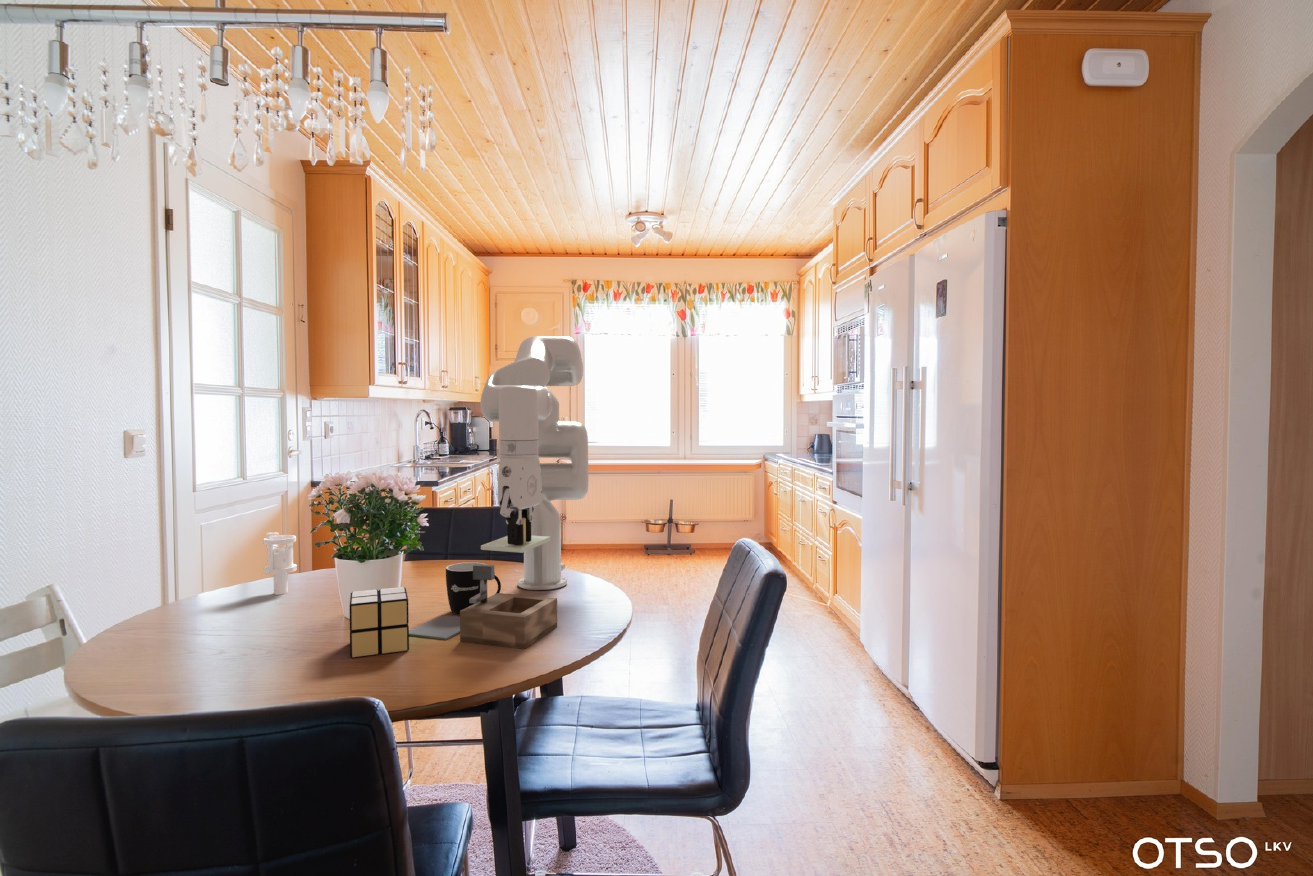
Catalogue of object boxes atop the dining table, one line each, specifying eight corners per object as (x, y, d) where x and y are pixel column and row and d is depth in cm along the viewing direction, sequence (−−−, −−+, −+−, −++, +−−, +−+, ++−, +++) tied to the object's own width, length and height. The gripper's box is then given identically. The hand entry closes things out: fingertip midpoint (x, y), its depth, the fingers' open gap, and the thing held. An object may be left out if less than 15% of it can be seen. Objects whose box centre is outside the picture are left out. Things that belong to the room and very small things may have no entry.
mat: (442, 616, 147) (442, 614, 147) (482, 620, 144) (482, 619, 144) (403, 635, 135) (403, 633, 135) (446, 640, 132) (446, 638, 132)
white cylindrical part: (279, 588, 171) (278, 530, 170) (303, 590, 169) (302, 531, 169) (257, 596, 164) (256, 534, 164) (282, 597, 163) (281, 535, 162)
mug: (442, 617, 146) (442, 571, 146) (449, 606, 155) (449, 562, 155) (499, 615, 148) (498, 569, 148) (502, 604, 157) (502, 561, 157)
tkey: (494, 601, 137) (494, 565, 137) (482, 608, 132) (482, 571, 132) (476, 600, 138) (476, 564, 138) (463, 607, 133) (463, 570, 132)
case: (497, 620, 144) (497, 593, 144) (557, 626, 140) (557, 598, 140) (460, 641, 131) (459, 610, 131) (524, 649, 127) (524, 617, 127)
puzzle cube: (351, 642, 131) (350, 591, 130) (406, 635, 135) (405, 586, 134) (350, 659, 121) (349, 604, 121) (409, 651, 125) (408, 598, 125)
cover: (511, 537, 142) (511, 510, 142) (550, 540, 139) (550, 512, 139) (480, 549, 131) (480, 519, 130) (522, 552, 128) (522, 522, 128)
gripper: (515, 452, 122) (516, 552, 123) (554, 447, 138) (555, 536, 139) (479, 451, 124) (480, 550, 125) (521, 446, 140) (522, 534, 141)
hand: (519, 542), depth 132 cm, fingers closed on cover, 2 cm apart
